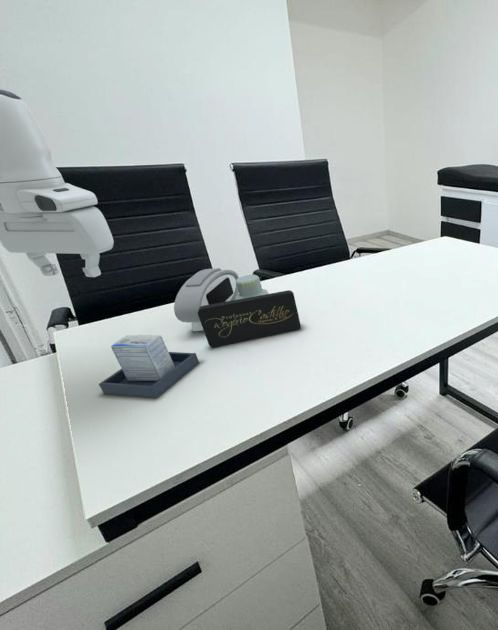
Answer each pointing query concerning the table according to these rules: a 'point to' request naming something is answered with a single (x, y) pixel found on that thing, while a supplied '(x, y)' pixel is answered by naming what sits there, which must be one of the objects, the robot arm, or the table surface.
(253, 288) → the air freshener
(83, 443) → the table surface
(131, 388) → the tray
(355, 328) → the table surface
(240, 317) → the nameplate
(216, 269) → the alarm clock
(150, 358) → the medicine box
